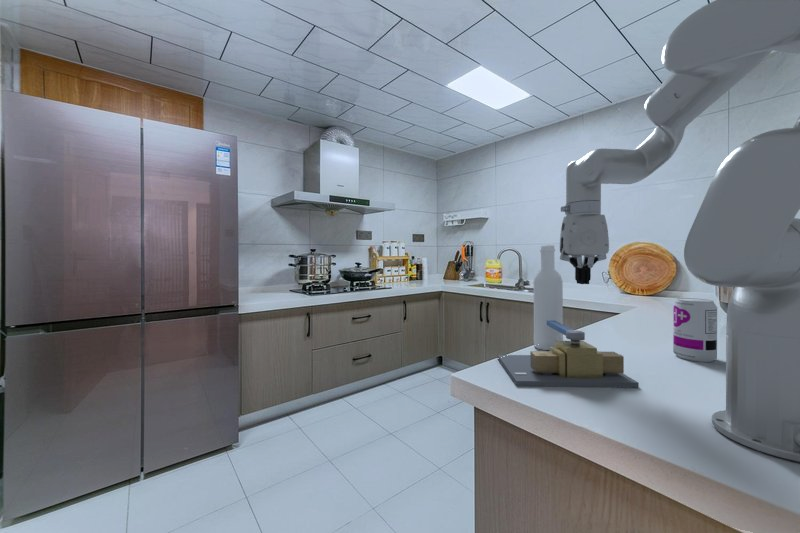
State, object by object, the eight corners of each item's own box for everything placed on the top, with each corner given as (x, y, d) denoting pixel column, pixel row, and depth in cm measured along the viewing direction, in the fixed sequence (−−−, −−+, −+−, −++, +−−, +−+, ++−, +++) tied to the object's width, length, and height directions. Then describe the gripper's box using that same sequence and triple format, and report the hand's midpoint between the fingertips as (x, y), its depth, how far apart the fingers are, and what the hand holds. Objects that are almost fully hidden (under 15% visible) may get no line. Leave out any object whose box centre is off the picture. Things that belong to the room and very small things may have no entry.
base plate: (638, 387, 64) (638, 381, 64) (516, 385, 66) (516, 380, 66) (592, 359, 82) (592, 354, 82) (497, 358, 84) (497, 354, 84)
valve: (627, 383, 66) (627, 343, 66) (537, 382, 68) (537, 343, 68) (610, 373, 72) (610, 336, 72) (529, 372, 74) (528, 336, 74)
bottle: (560, 344, 96) (560, 245, 96) (566, 352, 89) (565, 244, 88) (532, 343, 99) (531, 246, 98) (535, 350, 91) (534, 245, 91)
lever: (587, 340, 68) (587, 334, 68) (570, 340, 68) (570, 333, 68) (557, 325, 84) (557, 319, 84) (543, 325, 84) (543, 319, 84)
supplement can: (684, 361, 79) (684, 301, 79) (667, 352, 87) (667, 297, 87) (725, 364, 77) (725, 302, 77) (703, 354, 85) (704, 298, 84)
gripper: (558, 209, 77) (558, 285, 77) (623, 207, 75) (623, 284, 76) (546, 213, 84) (546, 282, 85) (606, 211, 83) (605, 282, 83)
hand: (582, 283), depth 80 cm, fingers closed
